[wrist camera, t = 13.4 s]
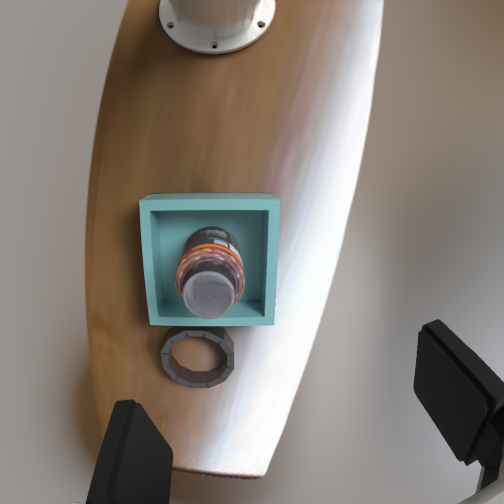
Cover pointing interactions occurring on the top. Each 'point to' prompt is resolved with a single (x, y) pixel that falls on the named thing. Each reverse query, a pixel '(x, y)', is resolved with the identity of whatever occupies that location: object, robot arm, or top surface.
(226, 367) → the collar
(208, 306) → the supplement bottle
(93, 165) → the top surface
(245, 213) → the bin
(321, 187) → the top surface
